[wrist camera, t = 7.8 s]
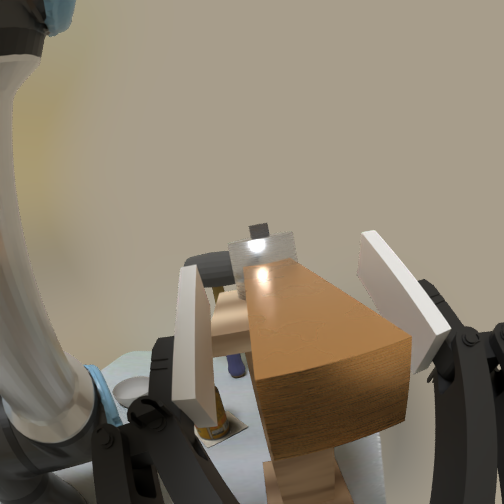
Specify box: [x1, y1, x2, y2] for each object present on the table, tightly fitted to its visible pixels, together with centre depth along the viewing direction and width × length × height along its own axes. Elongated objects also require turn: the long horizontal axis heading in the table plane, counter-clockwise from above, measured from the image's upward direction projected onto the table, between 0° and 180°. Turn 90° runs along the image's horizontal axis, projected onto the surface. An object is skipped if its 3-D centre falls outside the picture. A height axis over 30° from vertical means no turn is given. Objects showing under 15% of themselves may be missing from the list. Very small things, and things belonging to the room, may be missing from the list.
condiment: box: [194, 385, 248, 448], centre depth 42 cm, size 7×8×12 cm
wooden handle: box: [228, 223, 412, 461], centre depth 17 cm, size 23×6×6 cm, turn 3°
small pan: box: [112, 376, 149, 408], centre depth 58 cm, size 11×18×4 cm, turn 140°
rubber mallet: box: [184, 251, 245, 377], centre depth 61 cm, size 12×8×30 cm, turn 68°
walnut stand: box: [211, 290, 354, 504], centre depth 24 cm, size 12×10×28 cm
